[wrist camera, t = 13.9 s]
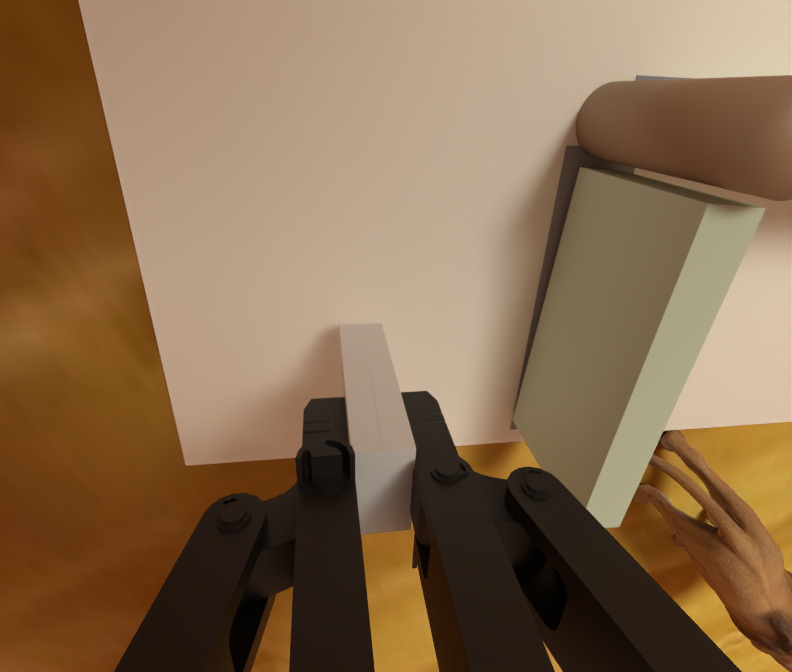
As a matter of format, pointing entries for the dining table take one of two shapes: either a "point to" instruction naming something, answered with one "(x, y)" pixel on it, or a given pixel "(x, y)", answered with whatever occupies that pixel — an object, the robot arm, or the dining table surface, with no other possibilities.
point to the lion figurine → (729, 551)
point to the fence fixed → (697, 130)
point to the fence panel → (624, 327)
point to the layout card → (400, 196)
